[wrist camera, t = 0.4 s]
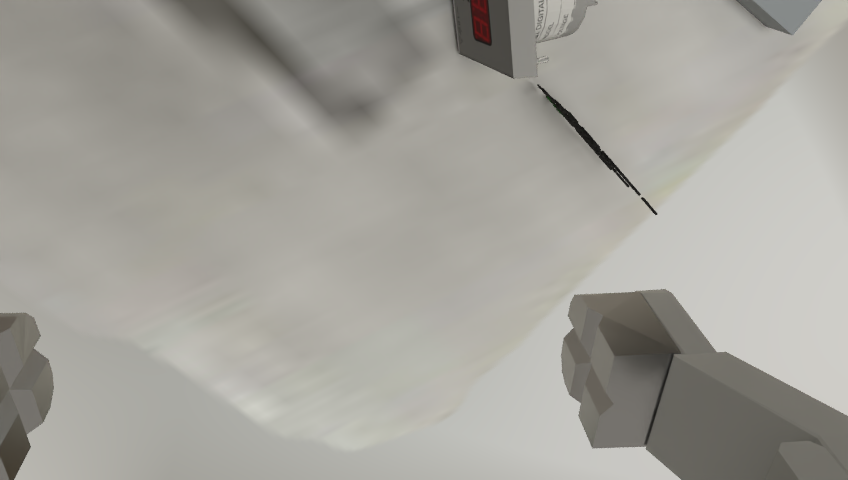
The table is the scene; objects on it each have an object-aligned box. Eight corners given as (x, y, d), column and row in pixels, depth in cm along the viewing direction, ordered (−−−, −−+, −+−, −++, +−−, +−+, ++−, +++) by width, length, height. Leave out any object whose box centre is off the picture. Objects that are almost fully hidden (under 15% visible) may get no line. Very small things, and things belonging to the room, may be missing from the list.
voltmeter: (392, -19, 52) (410, 2, 43) (501, -135, 49) (543, -137, 41) (586, 192, 64) (630, 241, 55) (683, 108, 61) (745, 146, 52)
